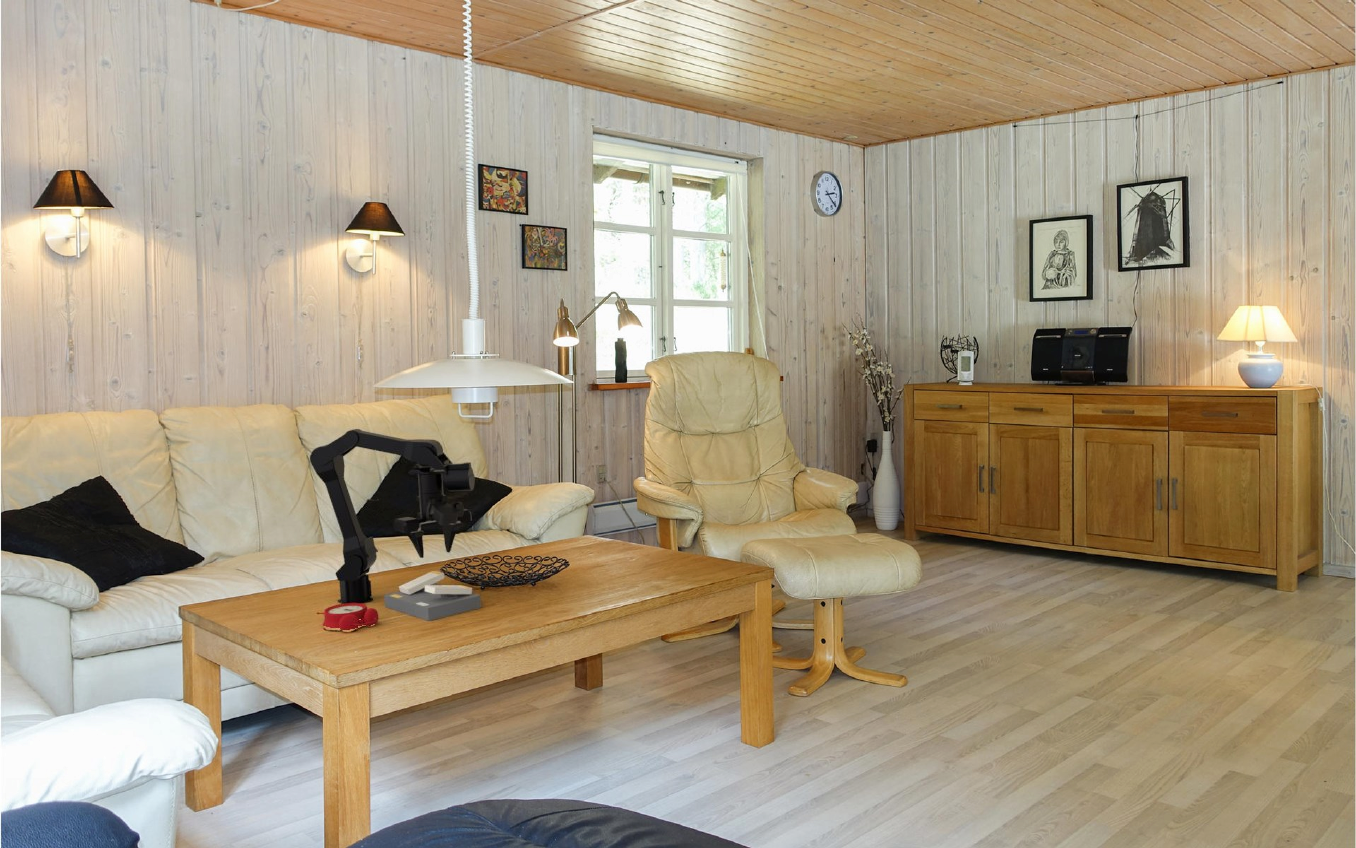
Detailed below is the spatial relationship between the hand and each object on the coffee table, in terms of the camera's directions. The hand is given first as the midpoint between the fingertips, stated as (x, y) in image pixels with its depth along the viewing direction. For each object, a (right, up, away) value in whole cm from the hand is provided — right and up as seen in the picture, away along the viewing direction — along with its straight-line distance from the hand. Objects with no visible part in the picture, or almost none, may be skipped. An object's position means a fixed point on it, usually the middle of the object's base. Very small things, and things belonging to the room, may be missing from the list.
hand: (435, 555), depth 249 cm
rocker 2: (+6, -7, -11) cm, 14 cm away
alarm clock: (-14, -14, -20) cm, 28 cm away
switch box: (+1, -12, -7) cm, 14 cm away
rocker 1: (-3, -6, -2) cm, 7 cm away
